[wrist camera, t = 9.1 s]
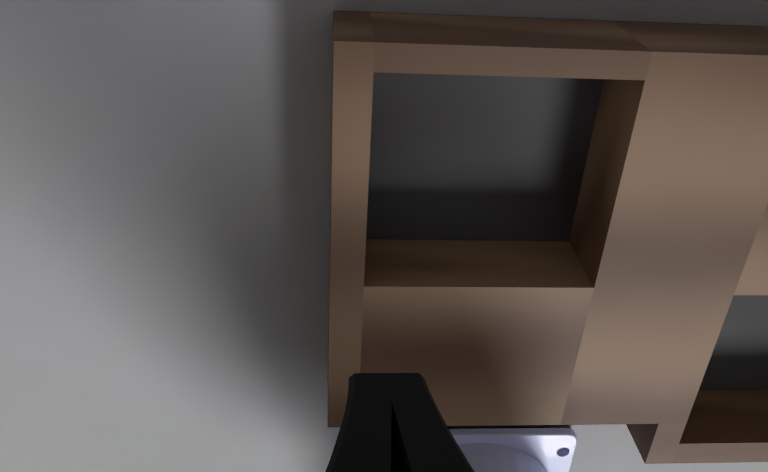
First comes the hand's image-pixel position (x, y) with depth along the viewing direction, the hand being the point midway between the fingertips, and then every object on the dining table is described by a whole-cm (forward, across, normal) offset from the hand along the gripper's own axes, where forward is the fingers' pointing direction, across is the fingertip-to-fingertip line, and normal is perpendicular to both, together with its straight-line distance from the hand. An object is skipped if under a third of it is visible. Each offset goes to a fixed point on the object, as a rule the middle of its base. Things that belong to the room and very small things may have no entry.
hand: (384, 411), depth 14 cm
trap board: (+10, -12, +3) cm, 16 cm away
